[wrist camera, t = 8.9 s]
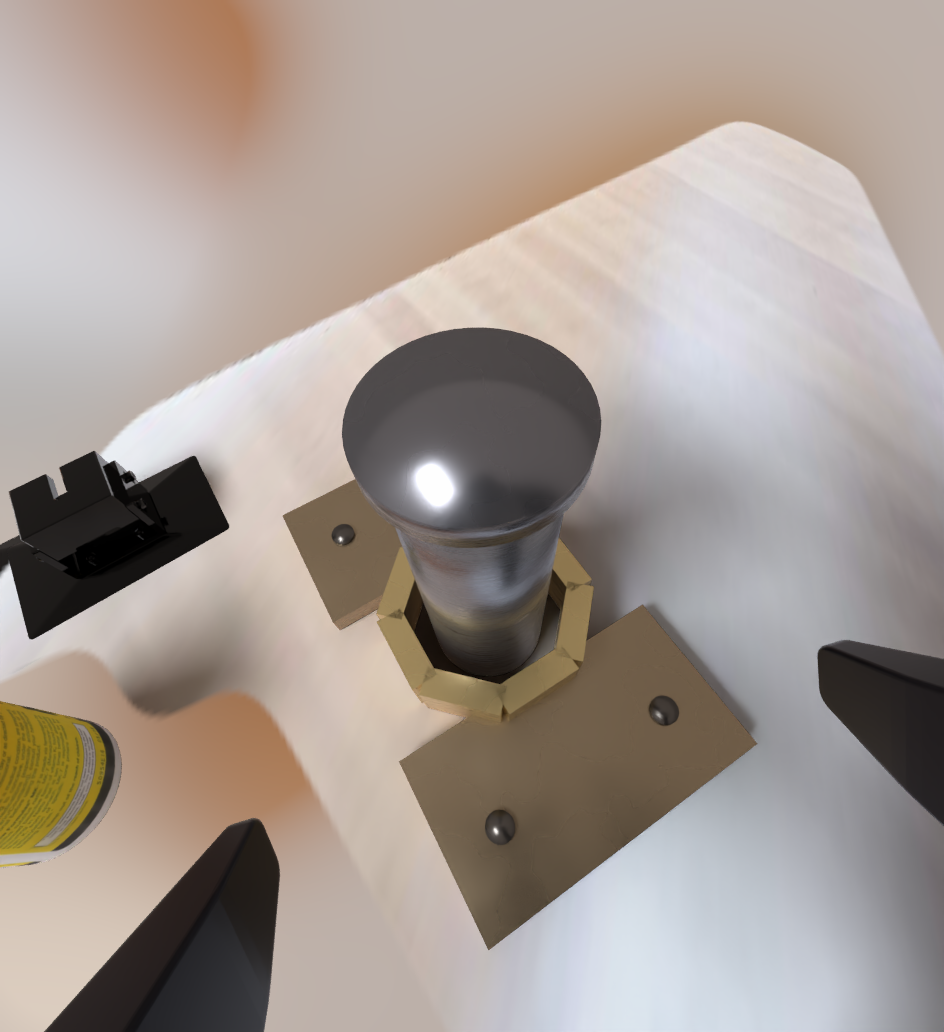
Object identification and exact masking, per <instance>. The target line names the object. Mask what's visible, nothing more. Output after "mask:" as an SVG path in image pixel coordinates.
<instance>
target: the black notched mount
mask: <svg viewBox="0 0 944 1032" xmlns="http://www.w3.org/2000/svg"><path fill="white" fill-rule="evenodd" d="M59 469H60V472H61V475H62V478H63V482H64V485H65V487H66V491H67V492H66V493H64V494H62V495H60V496H58V493H57V491H56V487H55V484H54V481H53V479H51V478H50V477H49V476H47V475H46V474H45V475H43V476H40V477H39V478H36V479H34V480H32V481H30V482H28V483H26V484H24V485H22V486H20V487H17V488H15V489H13V490H11V491H9V495H10V499H11V503H12V507H13V511H14V515H15V519H16V523H17V527H18V531H19V535H18V536H16V537H14V538H12V539H10V540H8V541H6V542H4V543H2V544H0V576H1V574H2V573H3V572H4V571H5V570H6V568H7V567H8V566H9V565H10V566H11V570H12V574H13V578H14V581H15V585H16V589H17V593H18V597H19V601H20V605H21V609H22V613H23V617H24V621H25V625H26V629H27V633H28V637H29V639H35V638H36V637H38V636H40V635H42V634H43V633H45V632H47V631H49V630H51V629H52V628H54V627H56V626H58V625H59V624H61V623H63V622H65V621H66V620H68V619H70V618H72V617H74V616H75V615H77V614H79V613H81V612H82V611H84V610H86V609H88V608H90V607H91V606H93V605H95V604H97V603H98V602H100V601H102V600H104V599H105V598H107V597H109V596H111V595H113V594H114V593H116V592H118V591H120V590H121V589H123V588H125V587H127V586H129V585H130V584H132V583H134V582H136V581H137V580H139V579H141V578H143V577H144V576H146V575H148V574H150V573H152V572H153V571H155V570H157V569H159V568H160V567H162V566H164V565H166V564H167V563H169V562H171V561H173V560H175V559H176V558H178V557H180V556H182V555H183V554H185V553H187V552H189V551H191V550H192V549H194V548H196V547H198V546H199V545H201V544H203V543H205V542H206V541H208V540H210V539H212V538H214V537H215V536H217V535H219V534H221V533H222V532H224V531H226V530H227V529H228V528H229V524H228V522H227V520H226V518H225V516H224V514H223V512H222V510H221V508H220V506H219V504H218V501H217V499H216V497H215V495H214V493H213V491H212V489H211V487H210V485H209V483H208V481H207V479H206V477H205V475H204V473H203V471H202V469H201V467H200V465H199V462H198V460H197V458H196V457H195V456H191V457H189V458H187V459H185V460H183V461H181V462H179V463H177V464H175V465H173V466H171V467H169V468H167V469H165V470H163V471H161V472H159V473H157V474H155V475H153V476H151V477H149V478H147V479H145V480H143V481H141V482H138V481H137V480H136V476H135V475H134V473H133V472H132V471H128V472H127V471H126V470H125V469H124V468H123V467H122V466H120V465H119V464H118V463H117V462H116V461H115V460H114V461H112V462H110V463H108V462H106V461H105V460H104V459H103V458H102V457H101V456H100V455H99V454H97V453H96V452H95V451H93V452H91V453H89V454H86V455H84V456H83V457H80V458H78V459H76V460H74V461H72V462H70V463H68V464H65V465H64V466H62V467H60V468H59Z"/></svg>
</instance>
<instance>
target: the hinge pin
mask: <svg viewBox="0 0 944 1032" xmlns="http://www.w3.org/2000/svg"><path fill="white" fill-rule="evenodd" d="M600 431H601V415H600V407H599V404H598V400H597V396H596V394H595V392H594V390H593V388H592V386H591V384H590V382H589V381H588V379H587V378H586V376H585V375H584V373H583V372H582V371H581V370H580V369H579V368H578V366H577V365H576V364H575V363H574V362H573V361H571V360H570V359H569V358H568V357H567V356H566V355H564V354H563V353H561V352H560V351H558V350H557V349H555V348H554V347H552V346H550V345H548V344H546V343H544V342H543V341H541V340H538V339H535V338H533V337H530V336H528V335H524V334H521V333H517V332H513V331H508V330H502V329H494V328H462V329H453V330H448V331H442V332H438V333H434V334H431V335H427V336H424V337H421V338H419V339H416V340H414V341H411V342H409V343H407V344H405V345H403V346H401V347H399V348H397V349H396V350H394V351H393V352H391V353H390V354H388V355H386V356H385V357H384V358H383V359H381V360H380V361H379V362H378V363H376V364H375V365H374V366H373V367H372V368H371V369H370V370H369V371H368V372H367V373H366V374H365V376H364V377H363V378H362V379H361V381H360V382H359V383H358V385H357V386H356V388H355V390H354V391H353V393H352V395H351V397H350V399H349V402H348V404H347V407H346V410H345V414H344V419H343V427H342V438H343V447H344V451H345V454H346V458H347V461H348V463H349V465H350V468H351V470H352V472H353V474H354V477H355V479H356V481H357V483H358V486H359V488H360V490H361V492H362V494H363V496H364V497H365V499H366V500H367V501H368V503H369V504H370V506H371V507H372V508H373V509H374V510H375V511H376V512H377V513H378V514H379V515H380V516H381V517H382V518H383V519H384V520H385V521H387V522H388V523H389V524H391V525H392V526H393V527H395V529H396V531H397V534H398V537H399V539H400V542H401V544H402V547H403V550H404V552H405V555H406V558H407V560H408V563H409V565H410V568H411V571H412V573H413V576H414V579H415V581H416V584H417V586H418V589H419V592H420V594H421V597H422V600H423V602H424V605H425V608H426V610H427V613H428V615H429V618H430V621H431V623H432V626H433V629H434V631H435V634H436V636H437V639H438V642H439V644H440V646H441V648H442V650H443V652H444V653H445V655H446V656H447V657H448V659H449V660H450V661H451V662H452V663H453V664H455V665H456V666H457V667H459V668H460V669H462V670H464V671H466V672H468V673H471V674H474V675H479V676H498V675H502V674H505V673H508V672H510V671H512V670H514V669H516V668H518V667H519V666H520V665H522V664H523V663H524V662H525V661H526V660H527V659H528V658H529V657H530V655H531V654H532V652H533V651H534V649H535V647H536V645H537V642H538V639H539V635H540V630H541V625H542V620H543V615H544V610H545V605H546V600H547V595H548V590H549V585H550V580H551V574H552V569H553V564H554V559H555V554H556V549H557V544H558V539H559V534H560V529H561V523H562V518H563V513H564V512H565V511H566V510H568V508H569V507H570V506H571V505H572V504H573V503H574V501H575V500H576V499H577V498H578V496H579V495H580V493H581V492H582V490H583V488H584V487H585V485H586V483H587V480H588V478H589V476H590V474H591V470H592V466H593V462H594V458H595V454H596V450H597V446H598V442H599V438H600Z"/></svg>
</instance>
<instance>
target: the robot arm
mask: <svg viewBox="0 0 944 1032" xmlns="http://www.w3.org/2000/svg"><path fill="white" fill-rule="evenodd" d="M818 674H819V689H820V694H821V697H822V699H823V701H824V702H825V704H826V705H827V706H828V708H829V709H830V710H831V711H832V712H833V713H834V714H835V715H836V716H837V717H838V719H839V720H840V721H841V722H842V723H843V724H844V725H845V726H846V727H847V728H848V729H849V730H850V731H851V733H852V734H853V735H854V736H855V737H856V738H857V739H858V740H859V741H860V742H861V743H862V744H863V746H864V747H865V748H866V749H867V750H868V751H869V752H870V753H871V754H872V755H873V756H874V757H875V759H876V760H877V761H878V762H879V763H880V764H881V765H882V766H883V767H884V768H885V769H886V770H887V771H888V773H889V774H890V775H891V776H892V777H893V778H894V779H895V780H896V781H897V782H898V783H899V784H900V785H901V786H902V787H903V788H904V789H905V790H906V791H907V792H908V793H909V794H910V795H911V796H912V797H913V798H914V799H915V800H916V801H917V802H918V803H919V804H920V805H921V806H922V807H924V808H925V809H926V810H927V811H928V812H929V813H930V814H931V815H932V816H933V817H934V818H936V819H937V820H938V821H939V822H940V823H941V824H942V825H943V826H944V659H941V658H936V657H931V656H926V655H921V654H916V653H910V652H905V651H900V650H895V649H890V648H885V647H880V646H875V645H870V644H865V643H860V642H855V641H850V640H841V641H838V642H834V643H831V644H828V645H824V646H822V647H821V648H820V649H819V651H818ZM279 880H280V869H279V863H278V860H277V856H276V854H275V852H274V849H273V847H272V844H271V842H270V840H269V837H268V835H267V833H266V830H265V828H264V825H263V824H262V822H261V821H260V820H259V819H256V818H251V819H248V820H245V821H241V822H239V823H235V824H233V825H230V826H228V827H227V828H226V829H225V830H224V831H223V832H222V833H221V835H220V836H219V837H218V838H217V839H216V840H215V841H214V842H213V843H212V845H211V846H210V847H209V848H208V849H207V850H206V851H205V852H204V854H203V855H202V856H201V857H200V858H199V859H198V860H197V861H196V862H195V864H194V865H193V866H192V867H191V868H190V869H189V870H188V872H187V873H186V874H185V875H184V876H183V877H182V878H181V879H180V880H179V881H178V883H177V884H176V885H175V886H174V887H173V888H172V889H171V891H170V892H169V893H168V894H167V895H166V896H165V897H164V898H163V899H162V900H161V902H160V903H159V904H158V905H157V906H156V907H155V908H154V909H153V911H152V912H151V913H150V914H149V915H148V916H147V917H146V919H145V920H144V921H143V922H142V923H141V924H140V925H139V926H138V927H137V928H136V930H135V931H134V932H133V933H132V934H131V935H130V936H129V938H128V939H127V940H126V941H125V942H124V943H123V944H122V945H121V947H119V949H118V950H117V951H116V952H115V953H114V954H113V955H112V956H111V958H110V959H109V960H108V961H107V962H106V963H105V965H103V967H102V968H101V969H100V970H99V971H98V972H97V973H96V974H95V976H94V977H93V978H92V979H91V980H90V981H89V982H88V983H87V985H86V986H85V987H84V988H83V989H82V990H81V991H80V992H79V994H77V996H76V997H75V998H74V999H73V1000H72V1001H71V1002H70V1004H69V1005H68V1006H67V1007H66V1008H65V1009H64V1010H63V1011H62V1012H61V1014H60V1015H59V1016H58V1017H57V1018H56V1019H55V1020H54V1021H53V1023H52V1024H51V1025H50V1026H49V1027H48V1028H47V1029H46V1030H45V1031H44V1032H264V1028H265V1022H266V1015H267V1009H268V1002H269V993H270V984H271V973H272V961H273V950H274V939H275V927H276V914H277V904H278V892H279Z"/></svg>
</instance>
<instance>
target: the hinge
mask: <svg viewBox="0 0 944 1032" xmlns="http://www.w3.org/2000/svg"><path fill="white" fill-rule="evenodd" d="M283 518H284V520H285V522H286V524H287V526H288V528H289V530H290V533H291V535H292V537H293V539H294V541H295V543H296V545H297V547H298V549H299V552H300V554H301V556H302V558H303V560H304V562H305V564H306V566H307V568H308V571H309V573H310V575H311V577H312V579H313V581H314V583H315V585H316V587H317V590H318V592H319V594H320V596H321V598H322V600H323V602H324V604H325V606H326V608H327V611H328V613H329V615H330V617H331V619H332V621H333V623H334V624H335V625H336V626H337V627H338V628H339V630H341V629H343V628H345V627H346V626H348V625H350V624H352V623H353V622H355V621H357V620H359V619H360V618H362V617H364V616H366V615H368V614H369V613H371V612H373V611H375V610H376V609H378V611H377V616H378V617H379V619H380V620H379V621H377V623H378V625H379V627H380V629H381V631H382V633H383V635H384V637H385V639H386V640H387V642H388V644H389V646H390V648H391V650H392V652H393V654H394V656H395V658H396V660H397V662H398V663H399V665H400V667H401V669H402V671H403V673H404V675H405V677H406V679H407V681H408V683H409V685H410V686H411V688H412V690H413V691H414V693H415V694H416V695H417V697H418V698H419V700H420V701H421V702H422V703H423V702H424V703H425V704H426V705H427V707H428V708H431V709H435V710H439V711H443V712H447V713H450V714H454V715H458V716H462V717H466V719H465V720H463V721H461V722H460V723H458V724H457V725H455V726H454V727H452V728H451V729H449V730H447V731H446V732H444V733H443V734H441V735H440V736H438V737H437V738H435V739H434V740H432V741H430V742H429V743H427V744H426V745H424V746H423V747H421V748H420V749H418V750H416V751H415V752H413V753H412V754H410V755H409V756H407V757H406V758H404V759H403V760H401V761H399V762H400V765H401V767H402V769H403V771H404V773H405V775H406V777H407V779H408V781H409V783H410V786H411V788H412V790H413V792H414V794H415V796H416V798H417V800H418V802H419V805H420V807H421V809H422V811H423V813H424V815H425V817H426V819H427V821H428V824H429V826H430V828H431V830H432V832H433V834H434V836H435V838H436V840H437V843H438V845H439V847H440V849H441V851H442V853H443V855H444V857H445V859H446V862H447V864H448V866H449V868H450V870H451V872H452V874H453V876H454V878H455V880H456V883H457V885H458V887H459V889H460V891H461V893H462V895H463V897H464V899H465V902H466V904H467V906H468V908H469V910H470V912H471V914H472V916H473V918H474V921H475V923H476V925H477V927H478V929H479V931H480V933H481V935H482V937H483V940H484V942H485V944H486V946H487V948H488V950H490V949H491V948H492V947H494V946H495V945H496V944H497V943H499V942H500V941H501V940H503V939H504V938H505V937H507V936H508V935H509V934H510V933H512V932H513V931H514V930H516V929H517V928H518V927H520V926H521V925H522V924H523V923H525V922H526V921H527V920H529V919H530V918H531V917H533V916H534V915H535V914H536V913H538V912H539V911H540V910H542V909H543V908H544V907H546V906H547V905H548V904H549V903H551V902H552V901H553V900H555V899H556V898H557V897H559V896H560V895H561V894H562V893H564V892H565V891H566V890H568V889H569V888H570V887H572V886H573V885H574V884H575V883H577V882H578V881H579V880H581V879H582V878H583V877H585V876H586V875H587V874H588V873H590V872H591V871H592V870H594V869H595V868H596V867H598V866H599V865H600V864H601V863H603V862H604V861H605V860H607V859H608V858H609V857H611V856H612V855H613V854H615V853H616V852H617V851H618V850H620V849H621V848H622V847H624V846H625V845H626V844H628V843H629V842H630V841H631V840H633V839H634V838H635V837H637V836H638V835H639V834H641V833H642V832H643V831H644V830H646V829H647V828H648V827H650V826H651V825H652V824H654V823H655V822H656V821H657V820H659V819H660V818H661V817H663V816H664V815H665V814H667V813H668V812H669V811H670V810H672V809H673V808H674V807H676V806H677V805H678V804H680V803H681V802H682V801H683V800H685V799H686V798H687V797H689V796H690V795H691V794H693V793H694V792H695V791H696V790H698V789H699V788H700V787H702V786H703V785H704V784H706V783H707V782H708V781H709V780H711V779H712V778H713V777H715V776H716V775H717V774H719V773H720V772H721V771H722V770H724V769H725V768H726V767H728V766H729V765H730V764H732V763H733V762H734V761H735V760H737V759H738V758H739V757H741V756H742V755H743V754H745V753H746V752H747V751H748V750H750V749H751V748H752V747H754V746H755V745H756V744H757V743H756V741H755V740H754V739H753V738H752V737H751V735H750V734H749V733H748V732H747V731H746V729H745V728H744V727H743V726H742V724H741V723H740V722H739V721H738V720H737V718H736V717H735V716H734V715H733V714H732V712H731V711H730V710H729V709H728V708H727V706H726V705H725V704H724V703H723V701H722V700H721V699H720V698H719V697H718V695H717V694H716V693H715V692H714V691H713V689H712V688H711V687H710V686H709V685H708V683H707V682H706V681H705V680H704V678H703V677H702V676H701V675H700V674H699V672H698V671H697V670H696V669H695V668H694V666H693V665H692V664H691V663H690V662H689V660H688V659H687V658H686V657H685V655H684V654H683V653H682V652H681V651H680V649H679V648H678V647H677V646H676V645H675V643H674V642H673V641H672V640H671V638H670V637H669V636H668V635H667V634H666V632H665V631H664V630H663V629H662V628H661V626H660V625H659V624H658V623H657V622H656V620H655V619H654V618H653V617H652V615H651V614H650V613H649V612H648V611H647V609H646V608H645V607H644V606H643V605H641V606H640V607H638V608H636V609H635V610H633V611H632V612H630V613H629V614H627V615H626V616H624V617H623V618H621V619H619V620H618V621H616V622H615V623H613V624H612V625H610V626H609V627H607V628H605V629H604V630H602V631H601V632H599V633H598V634H596V635H595V636H593V637H592V638H590V639H588V640H587V641H586V639H587V632H588V625H589V618H590V611H591V603H592V596H593V589H594V587H593V586H590V583H591V580H592V579H591V578H590V576H589V575H588V574H587V572H586V571H585V570H584V569H583V567H582V566H581V565H580V564H579V562H578V561H577V560H576V559H575V557H574V556H573V555H572V554H571V552H570V551H569V550H568V548H567V547H566V546H565V545H564V543H563V542H562V541H561V540H560V538H559V539H558V544H557V549H556V554H555V559H554V564H553V569H552V574H551V580H550V585H549V590H548V593H549V595H550V596H551V597H552V599H553V600H554V601H555V603H556V604H557V606H558V607H559V608H560V615H559V621H558V627H557V632H556V638H555V644H554V650H553V651H551V652H550V653H548V654H547V655H545V656H543V657H542V658H540V659H539V660H537V661H536V662H534V663H533V664H531V665H529V666H528V667H526V668H525V669H523V670H522V671H520V672H518V673H517V674H515V675H514V676H512V677H511V678H509V679H508V680H506V681H504V682H503V683H501V684H497V683H492V682H488V681H484V680H480V679H476V678H472V677H468V676H464V675H460V674H456V673H451V672H447V671H443V670H439V669H435V668H433V666H432V664H431V662H430V661H429V659H428V657H427V655H426V653H425V652H424V650H423V648H422V646H421V644H420V643H419V641H418V639H417V637H416V635H415V634H414V631H415V628H416V624H417V621H418V618H419V615H420V611H421V608H422V605H423V600H422V597H421V594H420V592H419V589H418V586H417V584H416V581H415V579H414V576H413V573H412V571H411V568H410V565H409V563H408V560H407V558H406V555H405V552H404V550H403V547H402V544H401V542H400V539H399V537H398V534H397V531H396V529H395V527H393V526H392V525H391V524H389V523H388V522H387V521H385V520H384V519H383V518H382V517H381V516H380V515H379V514H378V513H377V512H376V511H375V510H374V509H373V508H372V507H371V506H370V504H369V503H368V501H367V500H366V499H365V497H364V496H363V494H362V492H361V490H360V488H359V486H358V483H357V481H356V479H355V480H353V481H351V482H349V483H347V484H345V485H343V486H341V487H339V488H337V489H335V490H333V491H331V492H329V493H327V494H325V495H323V496H321V497H319V498H317V499H315V500H313V501H311V502H309V503H307V504H305V505H303V506H301V507H299V508H297V509H295V510H293V511H291V512H289V513H287V514H285V515H283Z"/></svg>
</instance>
